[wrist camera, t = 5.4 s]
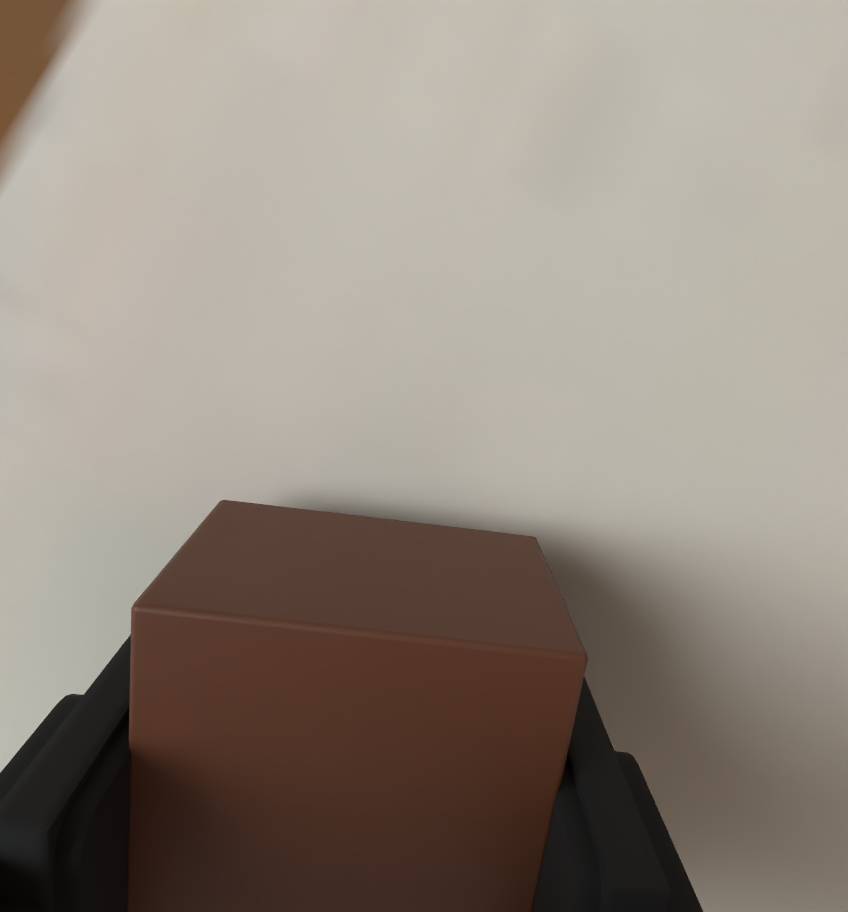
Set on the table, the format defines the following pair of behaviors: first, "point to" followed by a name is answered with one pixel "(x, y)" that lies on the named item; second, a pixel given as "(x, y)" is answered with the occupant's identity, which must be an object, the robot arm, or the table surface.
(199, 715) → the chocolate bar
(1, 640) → the table surface
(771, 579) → the table surface
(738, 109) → the table surface
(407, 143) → the table surface
